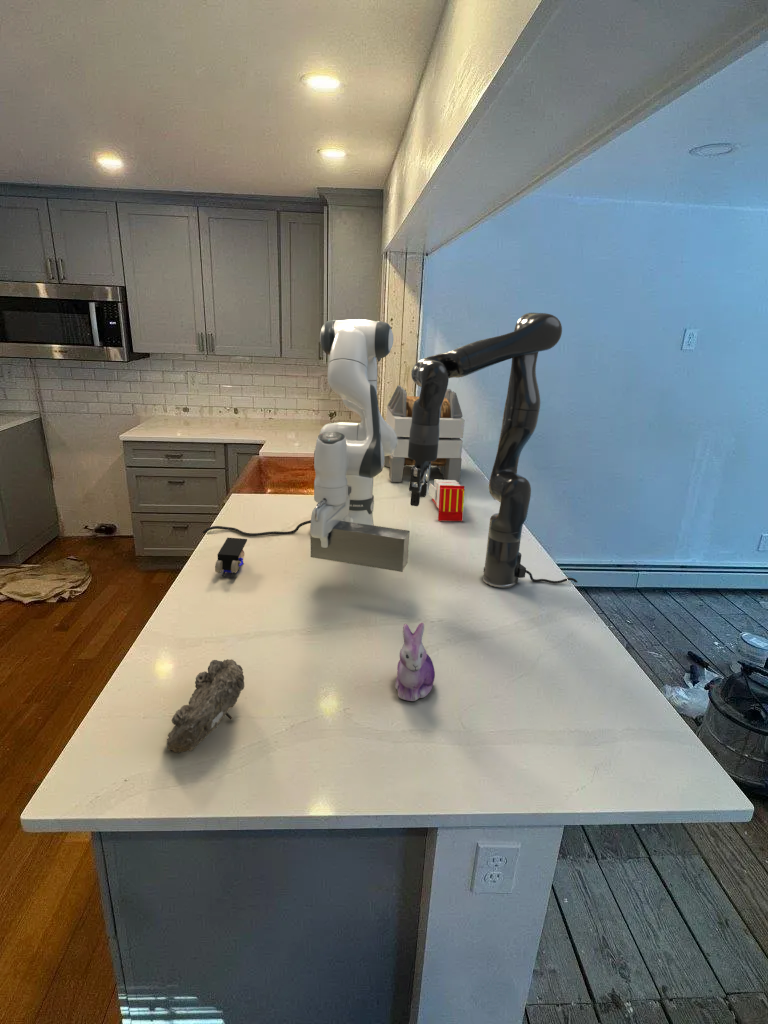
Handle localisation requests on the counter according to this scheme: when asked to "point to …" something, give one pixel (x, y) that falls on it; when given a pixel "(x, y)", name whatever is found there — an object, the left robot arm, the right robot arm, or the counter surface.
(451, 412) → the transformer
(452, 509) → the toy
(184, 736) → the fossil
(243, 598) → the counter surface
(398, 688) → the figurine
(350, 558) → the box
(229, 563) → the figurine character
